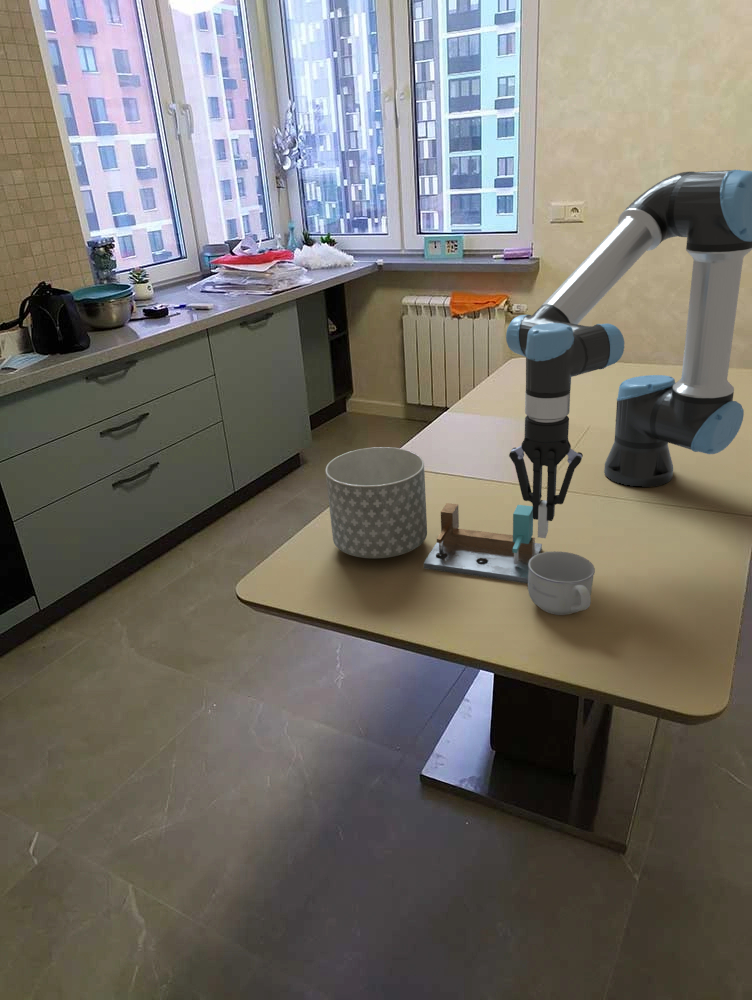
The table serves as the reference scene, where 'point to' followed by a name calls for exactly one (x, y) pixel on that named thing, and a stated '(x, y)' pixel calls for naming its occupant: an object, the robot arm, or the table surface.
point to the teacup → (560, 582)
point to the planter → (377, 501)
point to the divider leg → (522, 527)
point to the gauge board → (478, 551)
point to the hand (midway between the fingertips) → (542, 534)
